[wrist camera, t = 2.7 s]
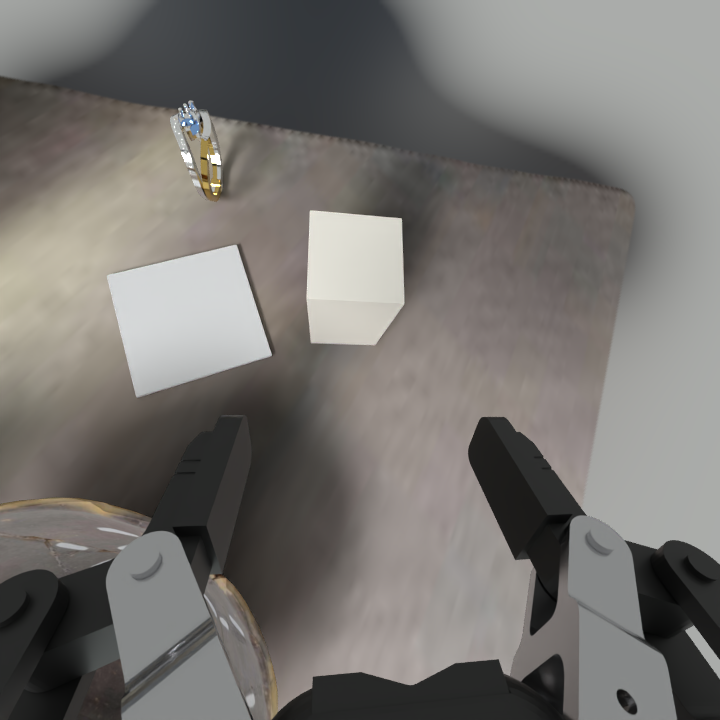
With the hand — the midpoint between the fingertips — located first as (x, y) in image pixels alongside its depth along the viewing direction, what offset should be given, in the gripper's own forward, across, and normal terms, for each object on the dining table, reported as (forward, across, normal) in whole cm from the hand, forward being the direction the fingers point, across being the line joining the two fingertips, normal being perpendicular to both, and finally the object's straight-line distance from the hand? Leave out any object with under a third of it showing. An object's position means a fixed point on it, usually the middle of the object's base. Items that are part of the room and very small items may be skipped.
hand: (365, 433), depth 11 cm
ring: (+31, +13, -4) cm, 34 cm away
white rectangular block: (+21, 0, +5) cm, 22 cm away
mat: (+20, +14, +6) cm, 26 cm away
